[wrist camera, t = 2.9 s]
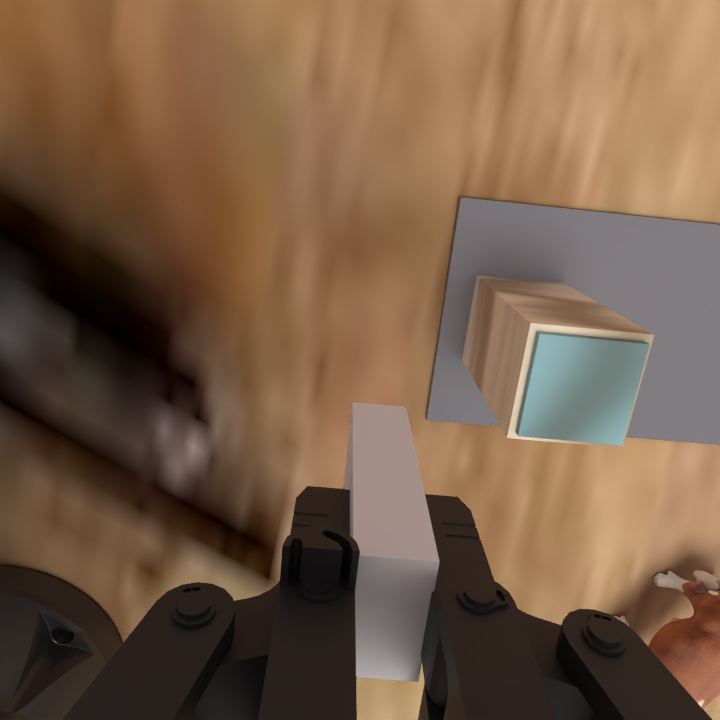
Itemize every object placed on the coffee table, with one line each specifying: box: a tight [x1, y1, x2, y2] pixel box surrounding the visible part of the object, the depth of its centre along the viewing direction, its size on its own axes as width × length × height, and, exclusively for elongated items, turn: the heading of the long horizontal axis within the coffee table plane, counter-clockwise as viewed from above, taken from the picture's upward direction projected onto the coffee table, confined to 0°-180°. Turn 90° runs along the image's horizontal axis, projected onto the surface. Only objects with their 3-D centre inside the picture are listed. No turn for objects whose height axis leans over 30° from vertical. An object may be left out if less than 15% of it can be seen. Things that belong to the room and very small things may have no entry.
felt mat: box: [426, 197, 720, 445], centre depth 34 cm, size 22×13×1 cm, turn 84°
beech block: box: [462, 275, 654, 448], centre depth 28 cm, size 5×5×10 cm
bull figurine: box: [613, 570, 720, 709], centre depth 37 cm, size 4×13×8 cm, turn 136°
